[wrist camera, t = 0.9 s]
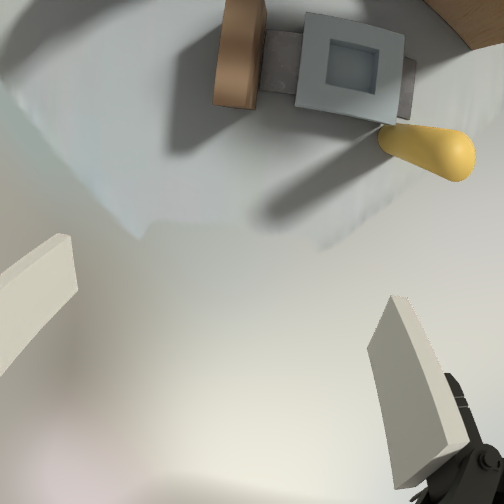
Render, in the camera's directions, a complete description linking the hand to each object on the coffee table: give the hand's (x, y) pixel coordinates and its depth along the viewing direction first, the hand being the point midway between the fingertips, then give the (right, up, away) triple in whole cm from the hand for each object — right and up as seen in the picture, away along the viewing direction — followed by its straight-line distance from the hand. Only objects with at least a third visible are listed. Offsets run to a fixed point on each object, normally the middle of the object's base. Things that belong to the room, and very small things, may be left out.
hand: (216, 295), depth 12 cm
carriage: (+12, +23, +19) cm, 32 cm away
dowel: (+18, +15, +21) cm, 32 cm away
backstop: (+1, +24, +20) cm, 31 cm away
